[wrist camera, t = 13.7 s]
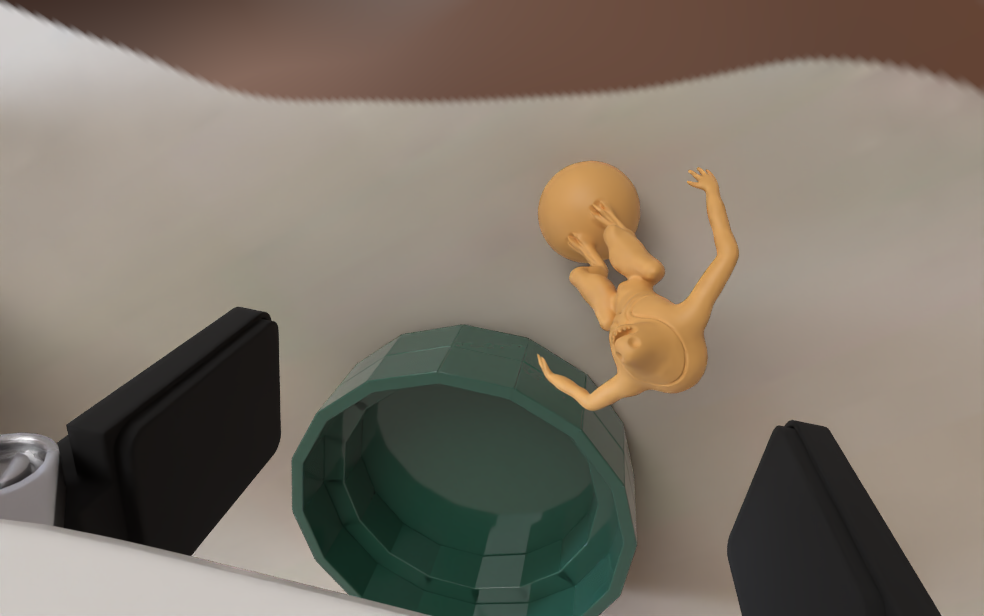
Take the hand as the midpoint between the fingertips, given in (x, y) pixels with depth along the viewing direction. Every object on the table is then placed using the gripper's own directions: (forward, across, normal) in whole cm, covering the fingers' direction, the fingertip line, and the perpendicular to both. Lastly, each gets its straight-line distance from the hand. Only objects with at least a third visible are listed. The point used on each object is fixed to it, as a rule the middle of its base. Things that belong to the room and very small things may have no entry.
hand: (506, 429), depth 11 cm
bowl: (+16, +2, +14) cm, 21 cm away
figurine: (+16, -2, 0) cm, 16 cm away
